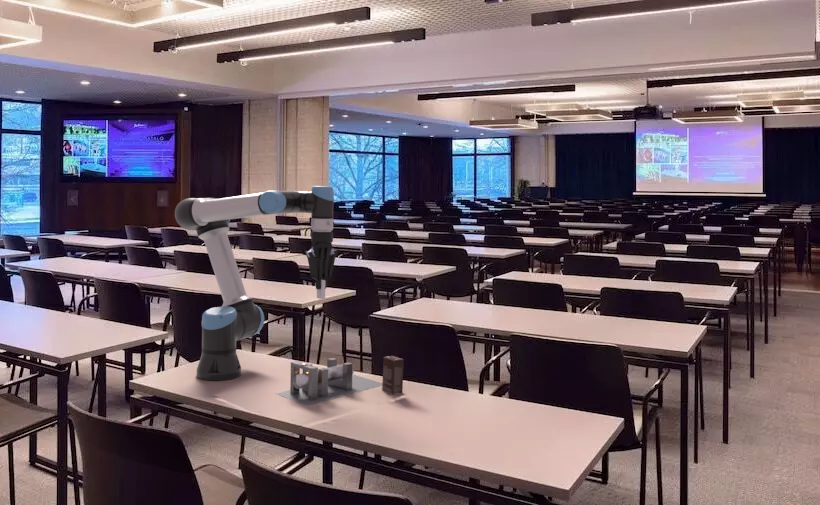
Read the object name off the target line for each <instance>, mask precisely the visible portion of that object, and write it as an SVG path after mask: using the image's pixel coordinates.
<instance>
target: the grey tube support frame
mask: <svg viewBox="0 0 820 505" xmlns="http://www.w3.org/2000/svg"><path fill="white" fill-rule="evenodd" d="M326 366H327V367H326V368H329V367H333V366H338V359H337V358H334V357H331V358H327V363H326ZM352 366H353V363H352V362H345V363H343V378H341V379H337V380H333V381H329V382H328V385H329V386H332V387H336V388H339V389H342V390H345V391H349V390H352Z"/></svg>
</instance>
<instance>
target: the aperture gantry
mask: <svg viewBox="0 0 820 505" xmlns="http://www.w3.org/2000/svg"><path fill="white" fill-rule="evenodd" d="M303 369H304V370H307V371H309V381H308V400H310V401H313V400H317V395H318V369H319V367H317V366H314V365H312V366H311V365H308V364H307V362H300V361H298V360H294V361H291V362H290V387H289V388H290V393H291V394H297V393H299V389H297V388H295V386H294V384H293V377H294V376H295V375H298V374H301V372H300V371H301V370H303Z"/></svg>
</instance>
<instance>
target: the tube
mask: <svg viewBox="0 0 820 505" xmlns="http://www.w3.org/2000/svg"><path fill="white" fill-rule="evenodd" d="M325 368H326V369H328V382H329V381H333V380H337V379H341V378H343V364H337V366H333V367H329V368H327V367H325ZM352 375H354V366H353V365H352ZM308 381H309V372H305V373H303V372H302V373H300V374H298V375H295V376H294V377H293V384H294V386H295V388H297V389H300V388H304V387H308Z"/></svg>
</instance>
